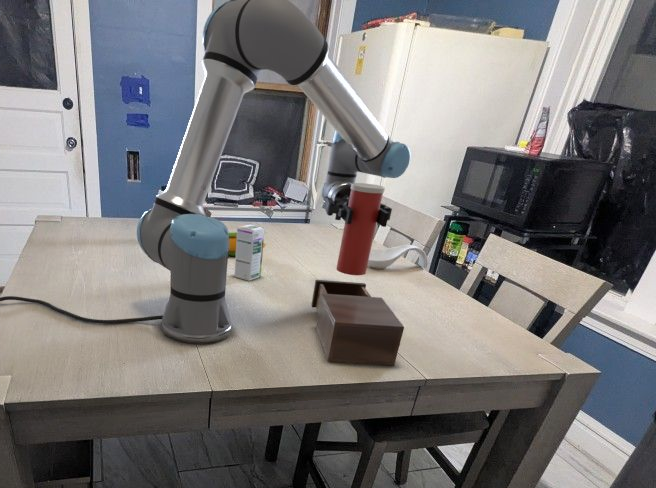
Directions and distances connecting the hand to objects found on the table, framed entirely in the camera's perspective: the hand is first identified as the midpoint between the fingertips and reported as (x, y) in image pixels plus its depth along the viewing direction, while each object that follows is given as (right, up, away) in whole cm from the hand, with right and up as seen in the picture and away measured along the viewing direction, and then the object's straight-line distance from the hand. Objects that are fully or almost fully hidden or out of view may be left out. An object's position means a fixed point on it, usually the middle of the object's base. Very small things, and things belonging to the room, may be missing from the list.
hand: (368, 218), depth 100 cm
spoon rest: (+26, +5, +65) cm, 70 cm away
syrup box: (-24, -3, +43) cm, 49 cm away
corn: (-27, +9, +64) cm, 70 cm away
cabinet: (-2, -26, +5) cm, 27 cm away
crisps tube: (-1, -8, +10) cm, 13 cm away
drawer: (-2, -18, +18) cm, 26 cm away
